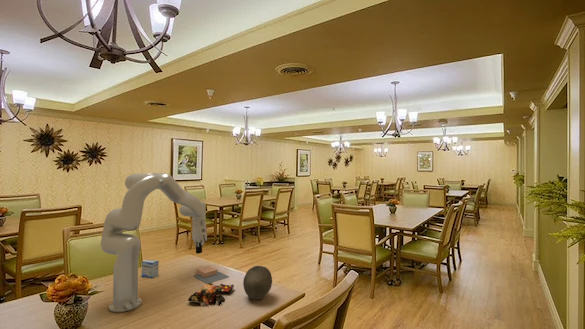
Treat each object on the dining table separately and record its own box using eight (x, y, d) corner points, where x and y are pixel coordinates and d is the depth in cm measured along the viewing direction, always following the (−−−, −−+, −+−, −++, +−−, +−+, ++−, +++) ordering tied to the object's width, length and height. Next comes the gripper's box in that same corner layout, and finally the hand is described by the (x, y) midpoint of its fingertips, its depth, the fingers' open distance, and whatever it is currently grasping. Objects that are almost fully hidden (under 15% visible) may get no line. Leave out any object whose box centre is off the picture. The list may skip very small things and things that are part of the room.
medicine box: (141, 276, 163) (141, 261, 163) (147, 274, 168) (147, 259, 168) (152, 278, 161) (153, 262, 161) (158, 275, 165) (158, 260, 165)
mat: (229, 276, 165) (229, 276, 165) (207, 283, 155) (207, 283, 155) (214, 270, 175) (214, 269, 175) (193, 276, 165) (193, 275, 165)
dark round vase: (236, 299, 137) (236, 267, 137) (256, 289, 148) (257, 260, 149) (258, 308, 129) (259, 274, 129) (278, 297, 140) (279, 265, 140)
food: (220, 309, 129) (220, 301, 129) (181, 306, 131) (181, 298, 131) (237, 288, 150) (237, 281, 150) (203, 286, 153) (203, 279, 153)
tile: (208, 270, 174) (217, 274, 168) (196, 273, 168) (204, 278, 162) (208, 265, 174) (217, 269, 168) (196, 269, 168) (204, 273, 162)
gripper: (211, 223, 173) (211, 254, 173) (198, 219, 183) (198, 249, 183) (199, 225, 167) (199, 257, 168) (187, 221, 178) (187, 251, 178)
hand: (198, 252), depth 175 cm, fingers closed
